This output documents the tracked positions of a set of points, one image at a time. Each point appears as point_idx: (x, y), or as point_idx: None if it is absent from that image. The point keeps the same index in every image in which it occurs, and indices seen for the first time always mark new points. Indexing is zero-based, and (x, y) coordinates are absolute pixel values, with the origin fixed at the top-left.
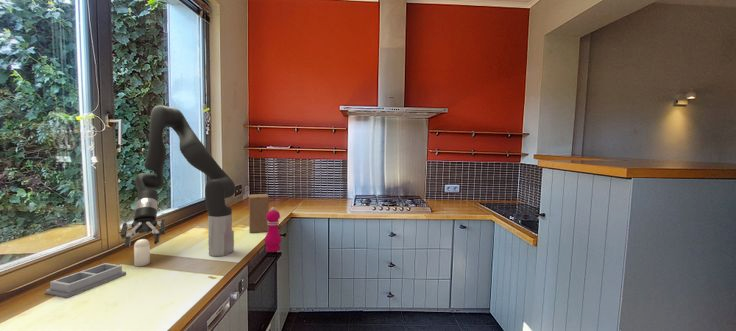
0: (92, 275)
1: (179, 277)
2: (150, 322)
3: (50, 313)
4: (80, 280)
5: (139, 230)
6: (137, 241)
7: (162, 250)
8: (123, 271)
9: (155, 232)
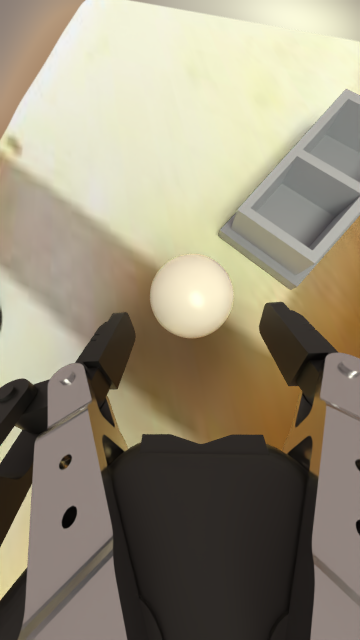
0: (305, 144)
1: (81, 167)
2: (118, 3)
3: (310, 66)
4: (325, 114)
5: (253, 440)
6: (214, 268)
7: None
8: (228, 235)
9: (83, 374)
